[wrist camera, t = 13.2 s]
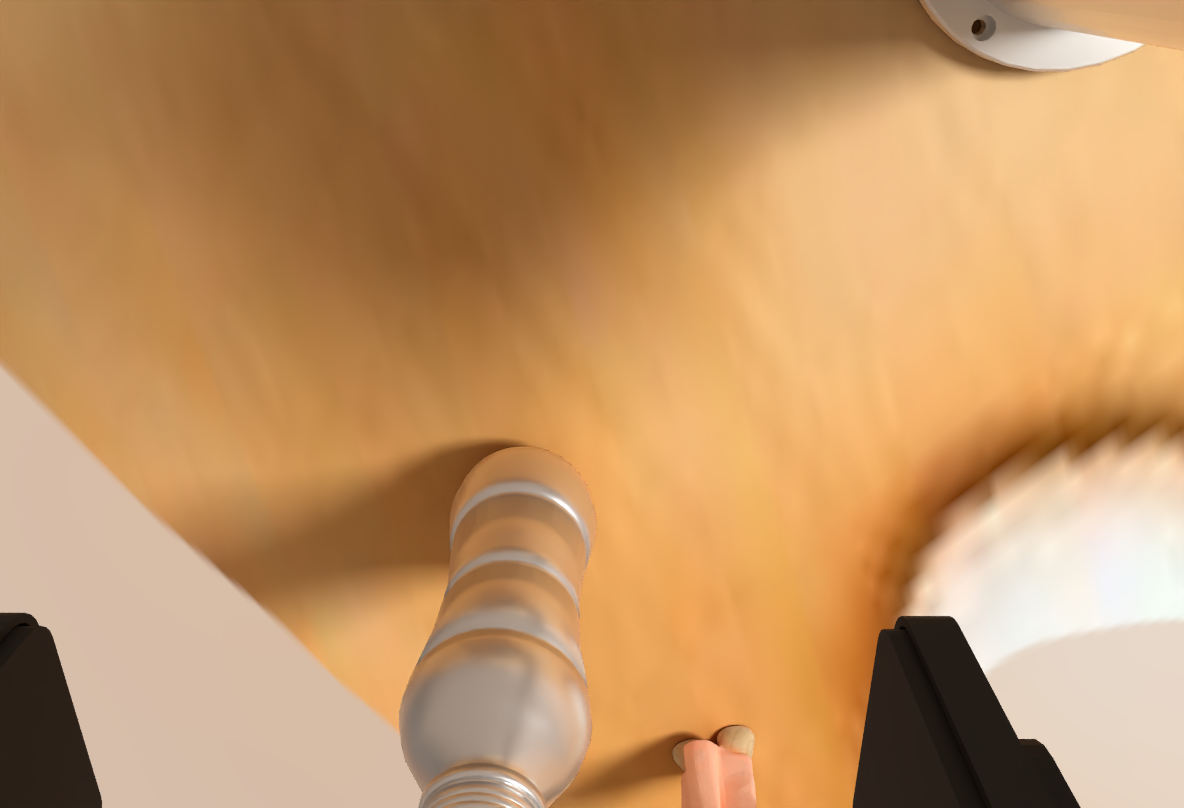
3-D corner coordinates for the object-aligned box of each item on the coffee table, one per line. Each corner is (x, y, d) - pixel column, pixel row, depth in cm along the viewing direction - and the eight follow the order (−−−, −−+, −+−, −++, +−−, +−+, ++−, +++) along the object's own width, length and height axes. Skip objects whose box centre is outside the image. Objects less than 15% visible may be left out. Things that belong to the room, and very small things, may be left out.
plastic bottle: (595, 428, 43) (590, 771, 25) (598, 554, 46) (594, 943, 28) (452, 429, 43) (344, 772, 25) (463, 555, 46) (374, 944, 28)
